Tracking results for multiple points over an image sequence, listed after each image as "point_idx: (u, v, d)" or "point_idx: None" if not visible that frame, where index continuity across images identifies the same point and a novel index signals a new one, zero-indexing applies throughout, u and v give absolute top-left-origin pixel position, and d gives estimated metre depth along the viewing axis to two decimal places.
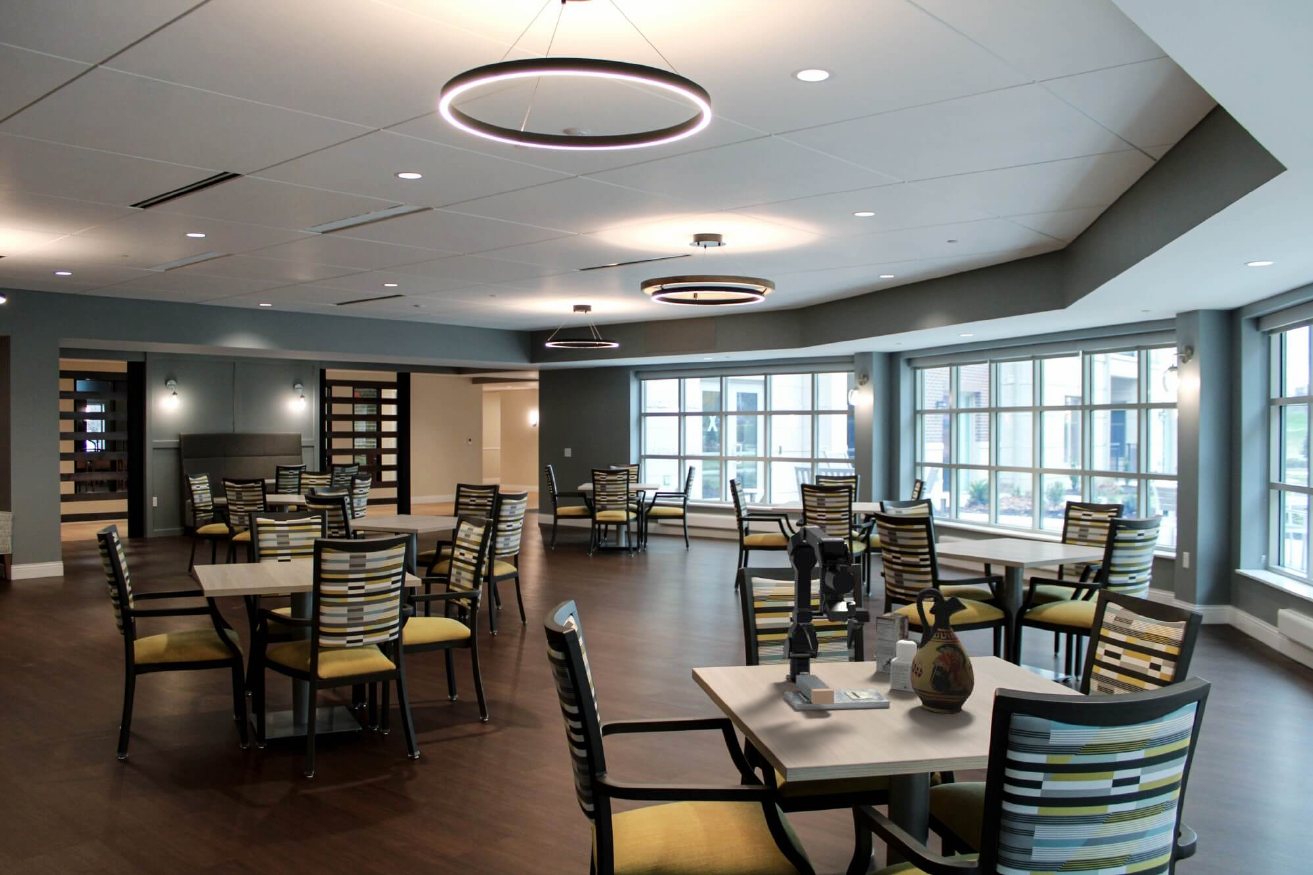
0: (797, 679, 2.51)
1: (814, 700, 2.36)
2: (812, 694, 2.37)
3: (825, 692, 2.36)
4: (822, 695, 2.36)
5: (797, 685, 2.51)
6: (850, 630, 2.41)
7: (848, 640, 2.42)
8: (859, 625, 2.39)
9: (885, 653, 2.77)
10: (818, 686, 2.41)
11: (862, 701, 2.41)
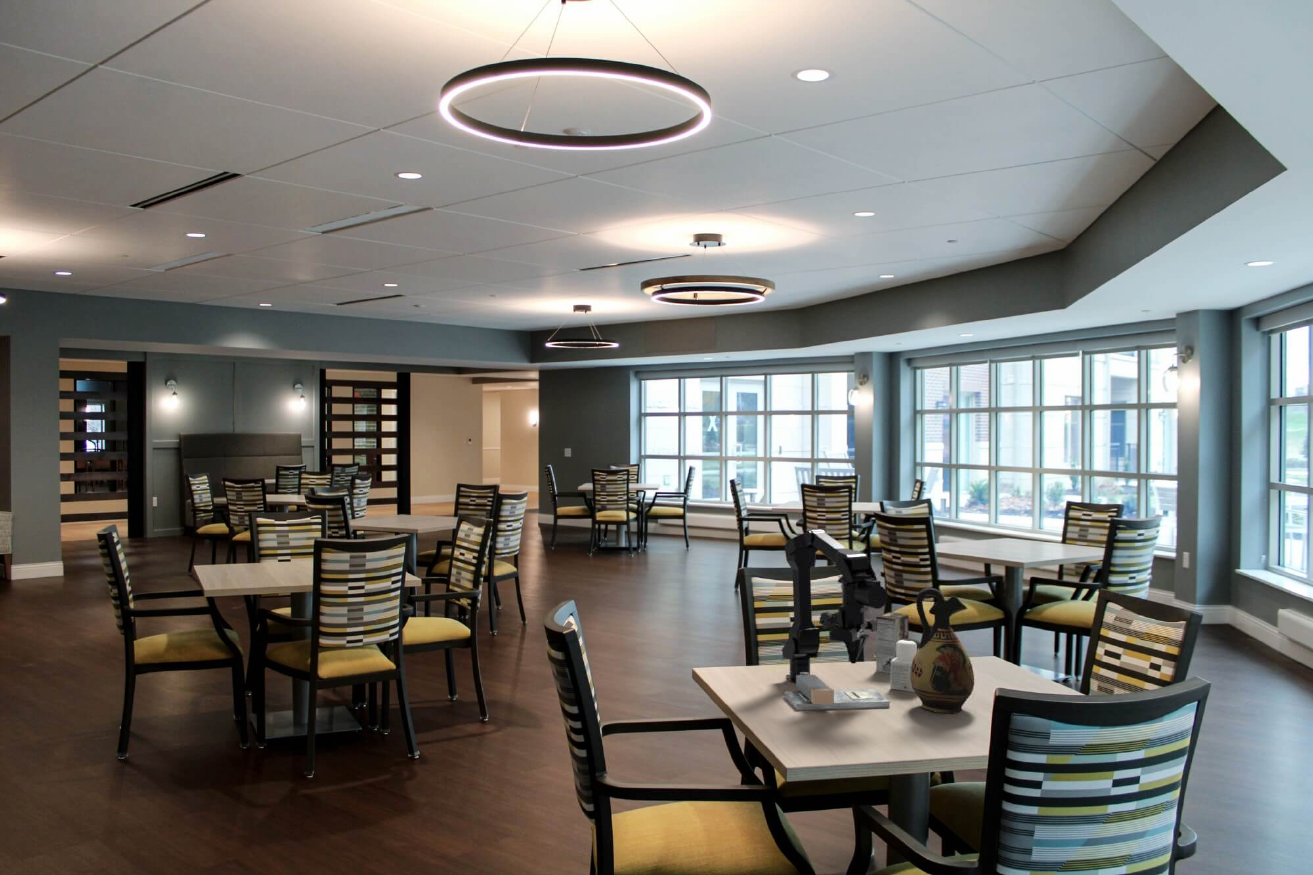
0: (797, 679, 2.51)
1: (814, 700, 2.36)
2: (812, 694, 2.37)
3: (825, 692, 2.36)
4: (822, 695, 2.36)
5: (797, 685, 2.51)
6: None
7: None
8: None
9: (885, 653, 2.77)
10: (818, 686, 2.41)
11: (862, 701, 2.41)
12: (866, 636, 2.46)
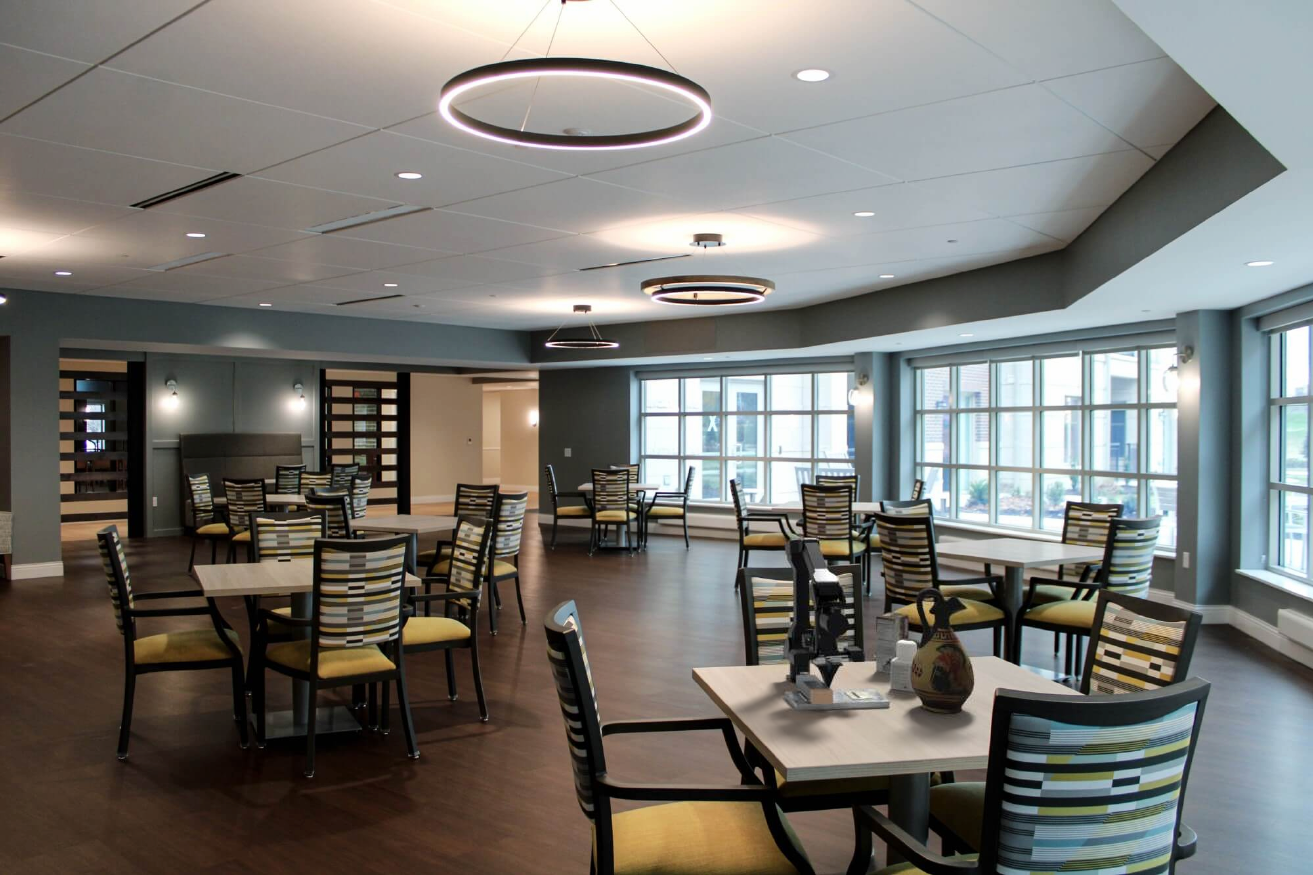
0: (797, 679, 2.51)
1: (813, 700, 2.36)
2: (811, 694, 2.37)
3: (824, 692, 2.36)
4: (821, 695, 2.36)
5: (797, 685, 2.51)
6: None
7: None
8: None
9: (885, 653, 2.77)
10: (817, 686, 2.41)
11: (862, 701, 2.41)
12: (835, 664, 2.42)
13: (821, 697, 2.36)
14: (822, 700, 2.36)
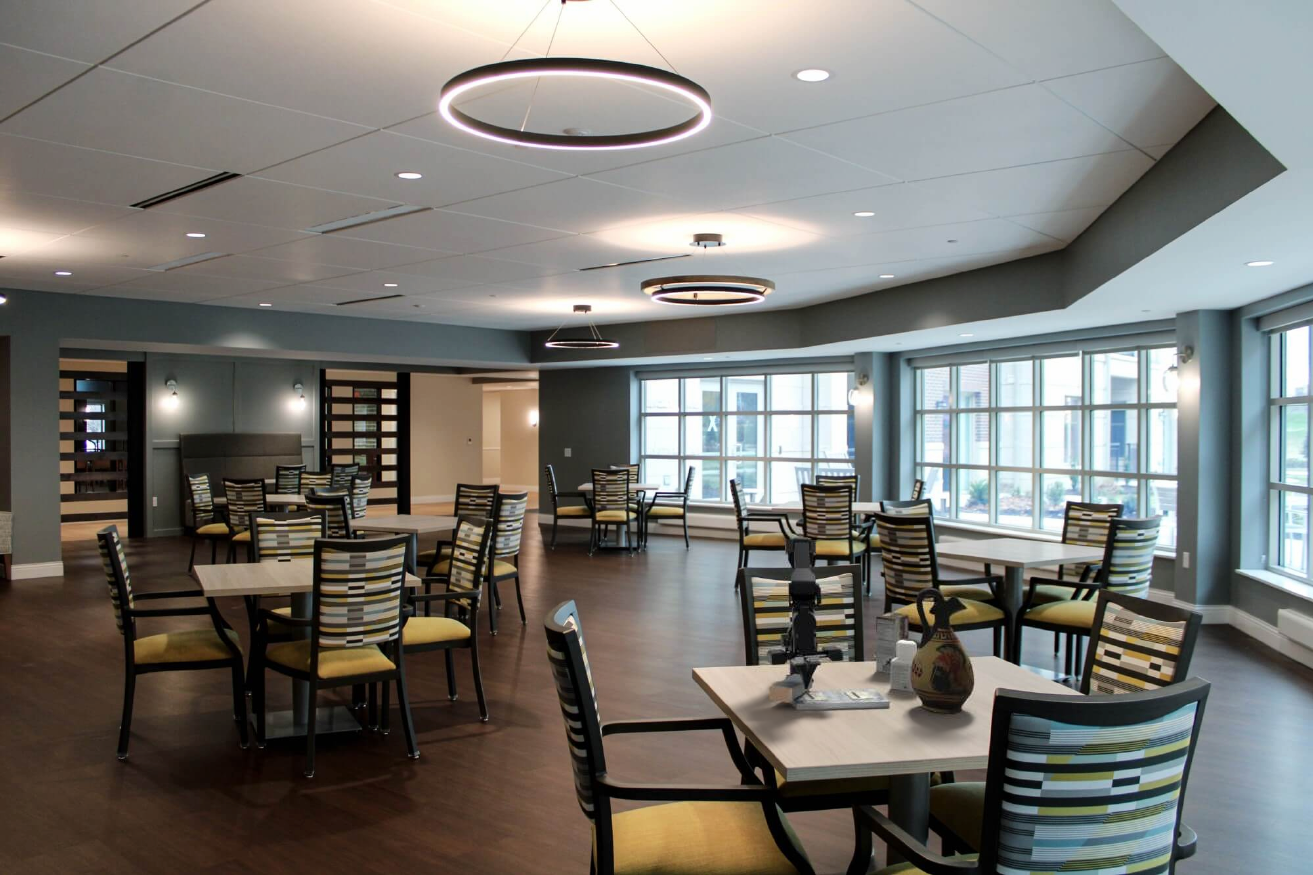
0: None
1: (770, 696, 2.40)
2: None
3: (780, 690, 2.38)
4: (778, 692, 2.39)
5: None
6: None
7: None
8: None
9: (885, 653, 2.77)
10: (786, 684, 2.42)
11: (862, 701, 2.41)
12: (813, 664, 2.42)
13: (778, 694, 2.39)
14: (778, 697, 2.38)
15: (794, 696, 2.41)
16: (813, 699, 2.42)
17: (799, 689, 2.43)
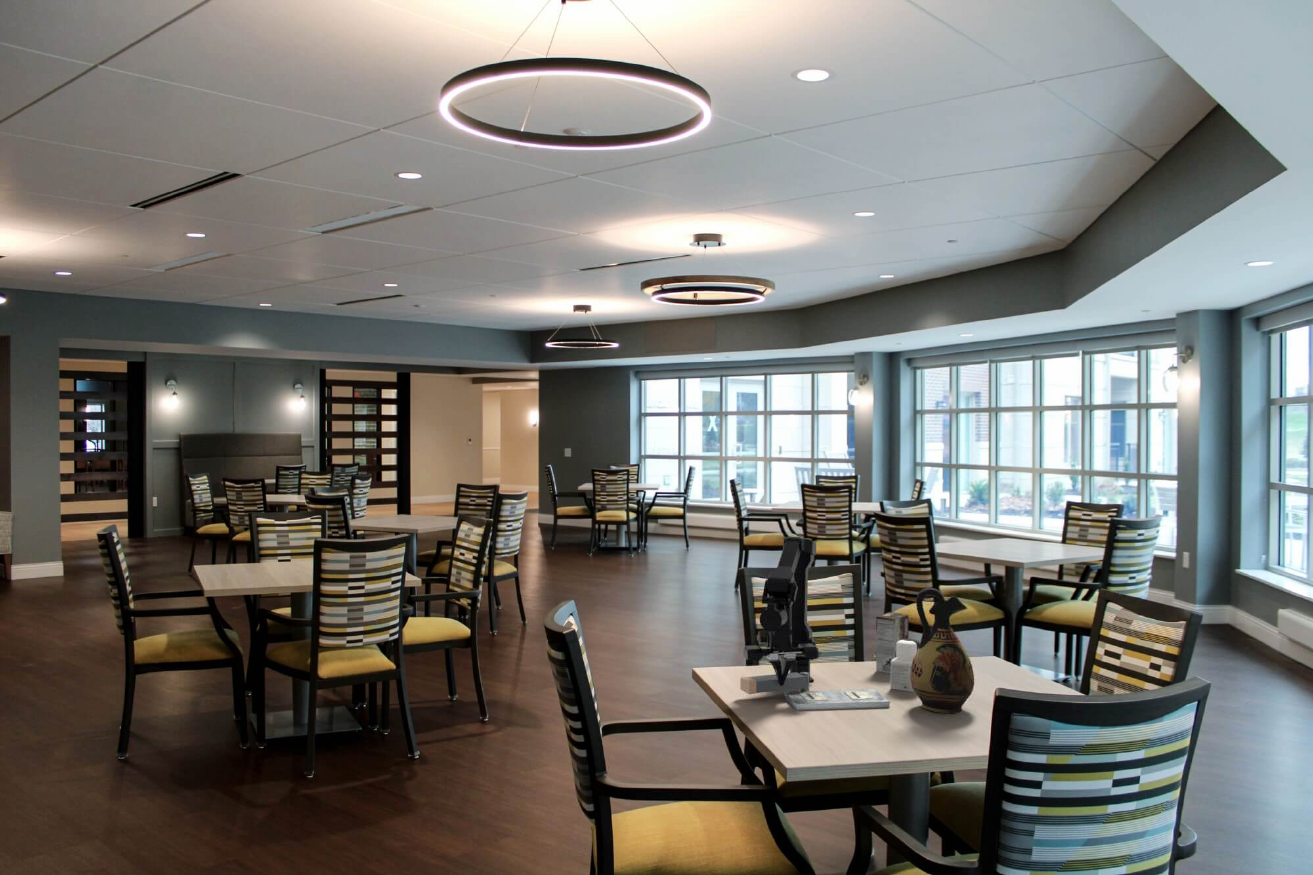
0: None
1: (740, 686, 2.50)
2: None
3: (745, 681, 2.47)
4: (744, 683, 2.48)
5: None
6: None
7: None
8: None
9: (885, 653, 2.77)
10: (761, 678, 2.49)
11: (862, 701, 2.41)
12: (789, 660, 2.44)
13: (744, 685, 2.48)
14: (744, 688, 2.48)
15: (763, 690, 2.47)
16: (813, 699, 2.42)
17: (774, 684, 2.48)
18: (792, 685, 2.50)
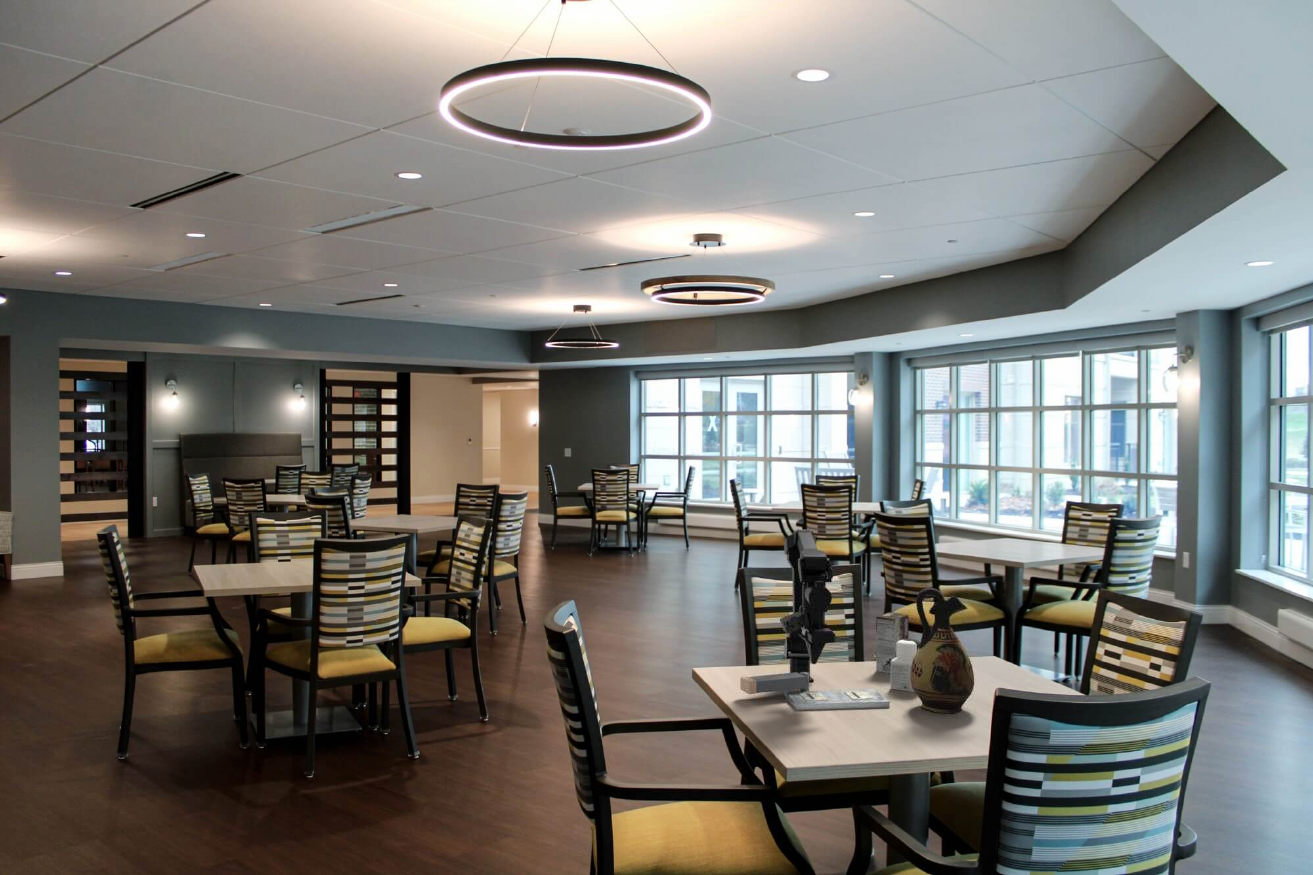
0: None
1: (740, 686, 2.50)
2: None
3: (745, 681, 2.47)
4: (744, 683, 2.48)
5: None
6: None
7: None
8: (805, 640, 2.43)
9: (885, 653, 2.77)
10: (761, 678, 2.49)
11: (862, 701, 2.41)
12: None
13: (744, 685, 2.48)
14: (744, 688, 2.48)
15: (763, 690, 2.47)
16: (813, 699, 2.42)
17: (774, 684, 2.48)
18: (792, 685, 2.50)
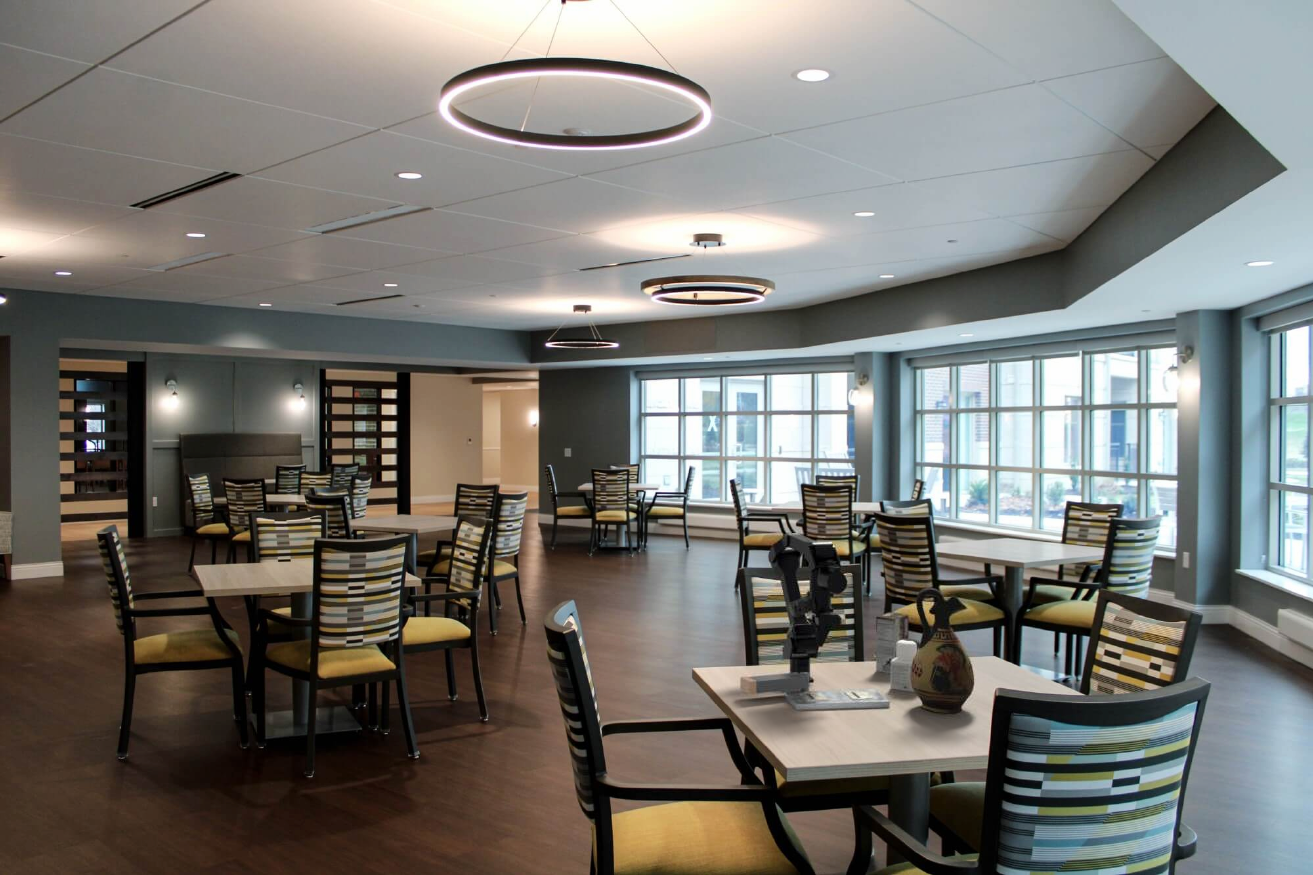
0: None
1: (740, 686, 2.50)
2: None
3: (745, 681, 2.47)
4: (744, 683, 2.48)
5: None
6: None
7: None
8: (812, 623, 2.54)
9: (885, 653, 2.77)
10: (761, 678, 2.49)
11: (862, 701, 2.41)
12: None
13: (744, 685, 2.48)
14: (744, 688, 2.48)
15: (763, 690, 2.47)
16: (813, 699, 2.42)
17: (774, 684, 2.48)
18: (792, 685, 2.50)
